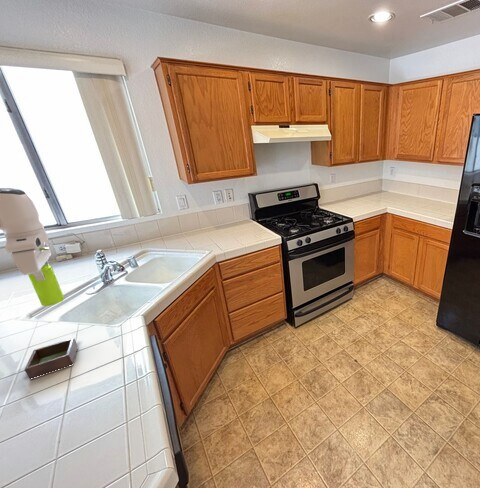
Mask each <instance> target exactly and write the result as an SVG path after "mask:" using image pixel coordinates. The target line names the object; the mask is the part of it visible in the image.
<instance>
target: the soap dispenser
mask: <svg viewBox="0 0 480 488" xmlns="http://www.w3.org/2000/svg"><path fill="white" fill-rule="evenodd" d="M48 249H49V248H48V247H42V248H40V249H39V250H48ZM41 270H42V273H43V274H44V275H45V279H44V280H42V281H37V279H36V277H35V276H34V275H33V274H28V275H27V276H28V278H29V280H30V282H31V285H32V286H33V289H34V291H35V294H36V295H37V298H38V300H39V303H40V304H41V306H43V307H49V306H55V305H57V304H59V303H61V302H63V301H64V300H65V297H64V296H65V295H64V293H63V291H62V288H61V286H60V284H59V282H58V279H57V277H56V274H55V272H54V269H53V266H52V265H50V264H49V265H45V264H44V265H43V267H42V268H41Z"/></svg>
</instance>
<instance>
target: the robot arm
mask: <svg viewBox="0 0 480 488" xmlns="http://www.w3.org/2000/svg"><path fill="white" fill-rule="evenodd" d="M39 215H40V214H39V212H38V209H37V207H36V205H35V202H34V201H33V199H32V197H31V196H30V195H29V194H28V192H26V191H24V190H23V189H19V188H14V187H13V188H12V187H8V188H7V187H5V188H4V187H0V230H1V231H2V232H3V235H4V237H5V241H6V242H5V243H6V244H5V250H6V252H7V253H8V254H10V253H11V257H12V260H13V262H14V264H15V266H16V267H17V268H18V270H19V272H20V273H21V275H24V276H26V275H27V276H28V274H33V275H34V276H35V277H36V279H37V281H42V280H44V279H45V275H44V274H43V273H42V270H41V268H42V267H43V265H44V264H45V265H50V264H49V258H50V257H51V256H52V249H51V248H50V245H49V243H48V242H49V236H48V235H47V231H46V230H45V227H44V225H43V224H42V223H41V221H40V217H39ZM42 247H48V248H49V249H48V250H39V249H40V248H42Z"/></svg>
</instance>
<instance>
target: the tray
mask: <svg viewBox="0 0 480 488" xmlns="http://www.w3.org/2000/svg"><path fill="white" fill-rule="evenodd" d="M77 347H78V348H79V345H78V344H77V342H76V339H75V338H74V337H72V338H69V339H66V340H65V339H64V340H62V341H59V342H55V343H52V344H48V345H45V346H42V347H39V348H36V349H33V351H32V353H31V355H30V357H29V359H28V362H27V363H26V365H25V367H24V371H25V374H26V375H27V377H28V379H29V380H30V379H31V378H34V377H37V376H40V375H43V374H46V373H49V372H52V371H55V370H58V369H61V368H64V367H67V366H69V365H72V364H73V363H74V364H75V362H74V359H75V360H76V358H75V355H76V356H77V354H76V351H77V352H78V350H77Z"/></svg>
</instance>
